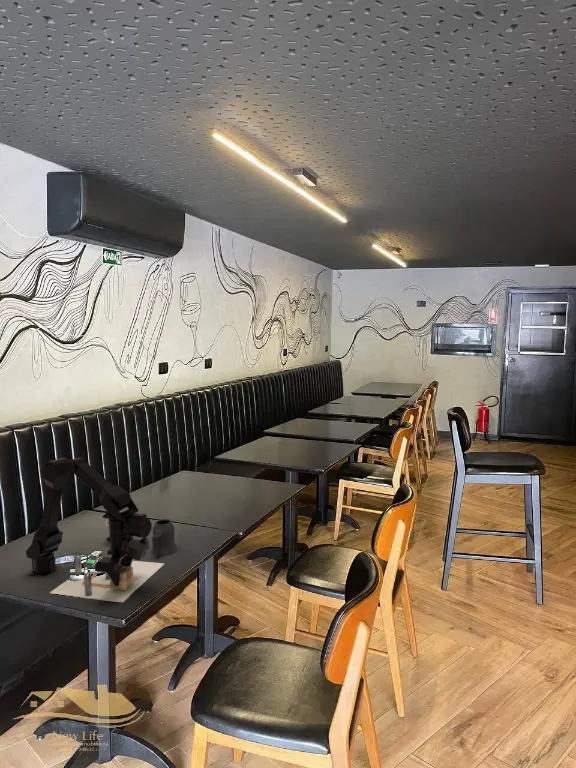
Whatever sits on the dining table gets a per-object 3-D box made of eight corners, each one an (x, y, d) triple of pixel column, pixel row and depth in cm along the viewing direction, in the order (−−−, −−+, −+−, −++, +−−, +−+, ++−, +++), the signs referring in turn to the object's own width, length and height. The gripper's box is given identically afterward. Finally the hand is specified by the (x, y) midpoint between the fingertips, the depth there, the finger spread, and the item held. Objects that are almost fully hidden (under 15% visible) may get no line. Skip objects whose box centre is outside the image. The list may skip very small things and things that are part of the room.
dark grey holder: (158, 546, 203) (156, 516, 202) (181, 547, 201) (180, 518, 200) (143, 559, 191) (141, 528, 190) (167, 561, 189) (166, 529, 188)
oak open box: (110, 588, 167) (109, 572, 166) (119, 581, 172) (118, 565, 171) (125, 590, 166) (124, 574, 165) (133, 582, 171) (132, 567, 170)
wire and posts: (85, 596, 164) (84, 575, 163) (74, 574, 179) (73, 555, 178) (118, 588, 169) (117, 568, 168) (105, 567, 184) (104, 549, 183)
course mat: (49, 594, 167) (49, 592, 167) (99, 558, 193) (99, 556, 193) (123, 602, 161) (123, 600, 161) (164, 564, 187) (164, 563, 187)
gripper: (126, 546, 156) (129, 599, 158) (157, 523, 174) (159, 571, 176) (92, 543, 159) (95, 595, 160) (126, 521, 177) (128, 568, 178)
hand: (121, 582), depth 169 cm, fingers closed on oak open box, 5 cm apart
